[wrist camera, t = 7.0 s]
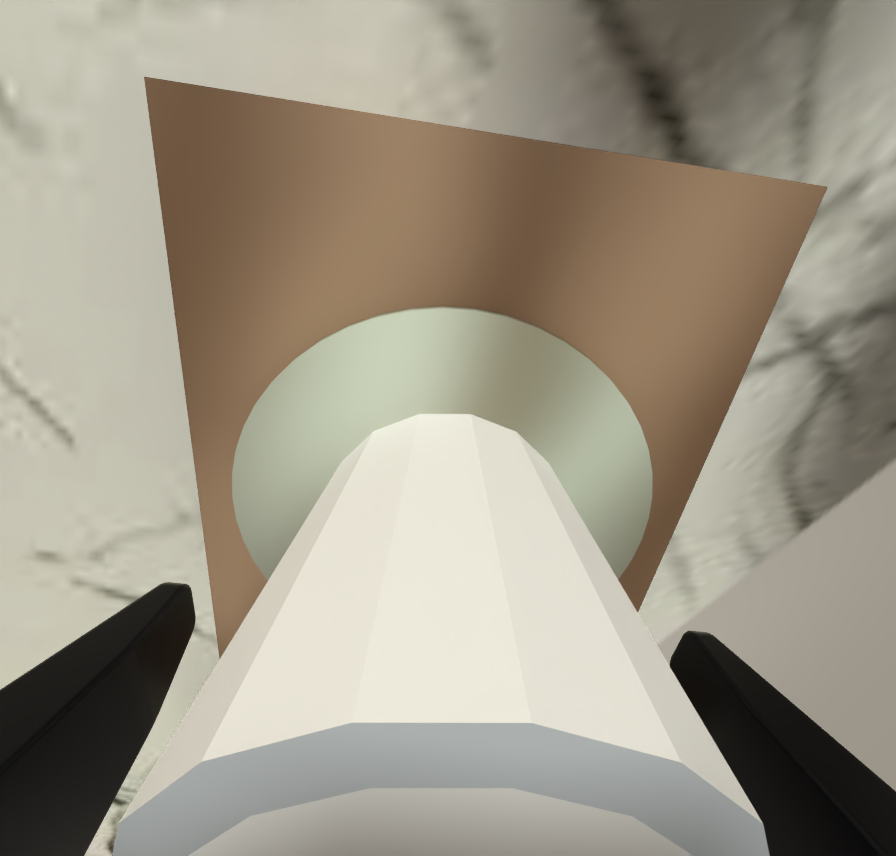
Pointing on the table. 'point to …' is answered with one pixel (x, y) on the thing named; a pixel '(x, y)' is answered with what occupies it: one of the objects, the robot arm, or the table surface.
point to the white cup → (442, 684)
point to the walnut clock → (450, 310)
